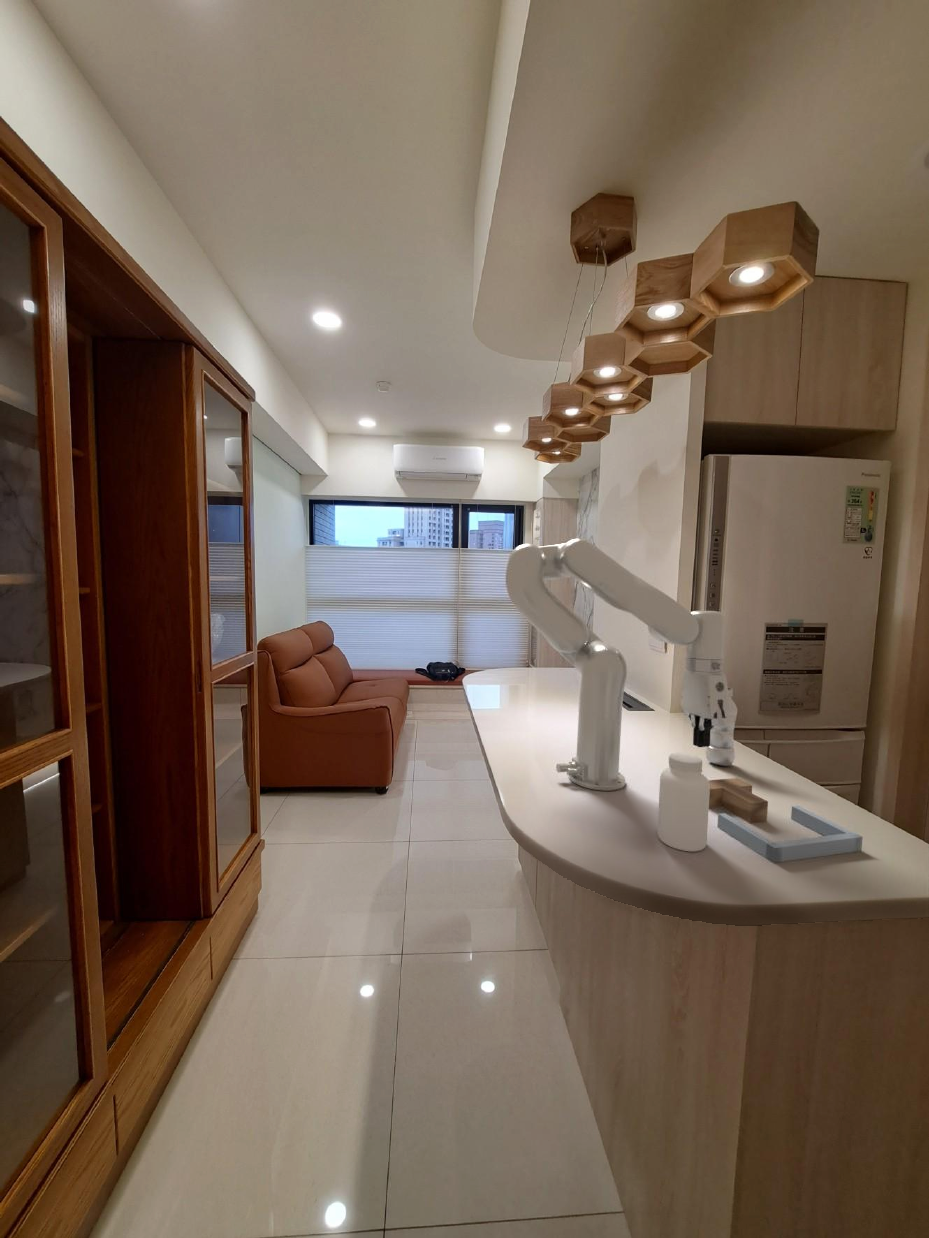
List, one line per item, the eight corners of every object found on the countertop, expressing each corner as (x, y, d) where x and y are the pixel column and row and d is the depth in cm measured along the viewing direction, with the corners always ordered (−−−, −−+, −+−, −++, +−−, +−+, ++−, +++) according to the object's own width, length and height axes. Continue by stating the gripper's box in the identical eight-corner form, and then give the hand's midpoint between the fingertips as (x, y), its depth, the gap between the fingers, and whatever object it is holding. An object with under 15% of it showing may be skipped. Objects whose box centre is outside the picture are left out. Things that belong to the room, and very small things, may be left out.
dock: (773, 862, 77) (774, 848, 77) (717, 826, 89) (718, 813, 88) (861, 850, 82) (862, 836, 82) (797, 817, 93) (798, 805, 93)
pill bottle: (649, 828, 87) (654, 748, 86) (693, 830, 87) (699, 750, 86) (666, 851, 79) (672, 764, 78) (715, 854, 79) (721, 767, 78)
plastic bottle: (738, 770, 118) (743, 691, 117) (709, 767, 120) (714, 689, 119) (729, 761, 125) (734, 686, 124) (701, 758, 126) (706, 684, 125)
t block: (734, 825, 90) (736, 804, 89) (693, 799, 100) (694, 781, 100) (780, 819, 92) (782, 800, 92) (735, 795, 103) (737, 777, 103)
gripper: (745, 670, 99) (742, 755, 100) (694, 660, 114) (691, 734, 115) (715, 671, 98) (712, 758, 99) (667, 661, 112) (665, 737, 113)
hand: (701, 745), depth 107 cm, fingers closed
